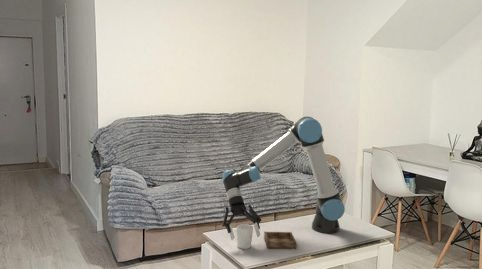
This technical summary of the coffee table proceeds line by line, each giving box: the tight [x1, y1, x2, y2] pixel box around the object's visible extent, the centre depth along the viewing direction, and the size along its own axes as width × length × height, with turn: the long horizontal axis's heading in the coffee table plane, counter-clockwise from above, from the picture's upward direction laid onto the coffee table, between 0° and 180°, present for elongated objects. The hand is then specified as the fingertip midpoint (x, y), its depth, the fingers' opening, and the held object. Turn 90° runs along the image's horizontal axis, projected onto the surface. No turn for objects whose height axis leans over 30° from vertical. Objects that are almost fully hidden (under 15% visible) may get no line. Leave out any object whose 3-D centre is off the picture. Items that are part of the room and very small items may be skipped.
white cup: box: [236, 223, 254, 250], centre depth 212 cm, size 8×8×10 cm
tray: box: [263, 231, 297, 250], centre depth 217 cm, size 14×14×4 cm
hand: (246, 237), depth 210 cm, fingers open, 13 cm apart
